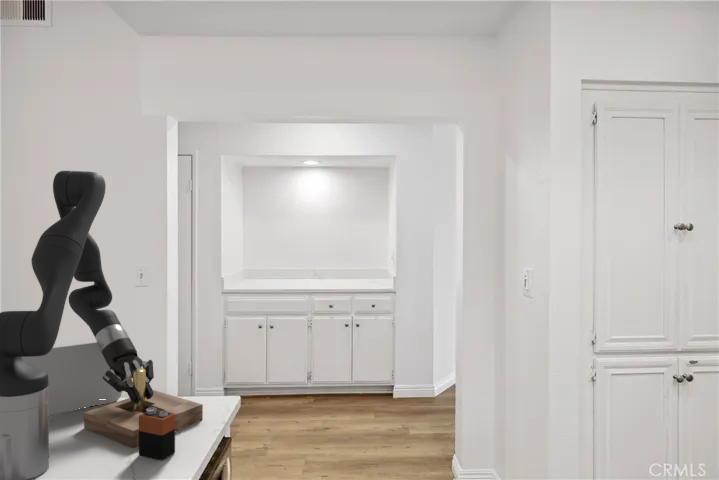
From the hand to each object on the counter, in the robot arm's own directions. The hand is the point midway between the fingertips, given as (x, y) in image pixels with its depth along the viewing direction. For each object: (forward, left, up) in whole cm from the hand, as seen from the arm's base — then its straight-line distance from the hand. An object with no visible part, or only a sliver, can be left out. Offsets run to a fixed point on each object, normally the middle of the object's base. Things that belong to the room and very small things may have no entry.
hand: (144, 399), depth 127 cm
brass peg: (0, +2, -6) cm, 6 cm away
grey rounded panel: (-6, +27, -7) cm, 28 cm away
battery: (-9, -17, -7) cm, 21 cm away
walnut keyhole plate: (0, 0, -6) cm, 6 cm away
